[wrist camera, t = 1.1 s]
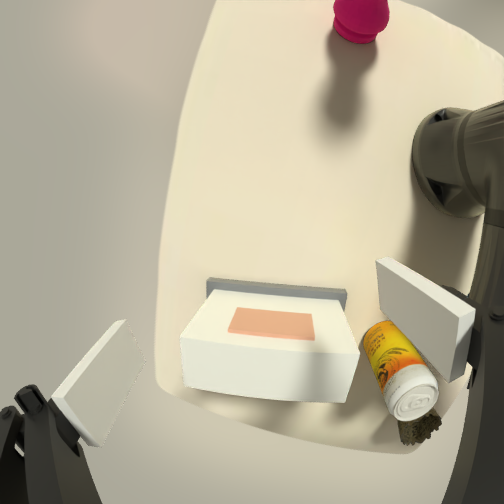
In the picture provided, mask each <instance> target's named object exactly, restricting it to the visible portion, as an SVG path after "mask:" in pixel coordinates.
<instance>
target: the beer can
mask: <svg viewBox="0 0 504 504" xmlns="http://www.w3.org/2000/svg"><path fill="white" fill-rule="evenodd" d="M363 345H364V349H365V352H366V354H367V356H368V359H369V361H370V364H371V366H372V369H373V371H374V374H375V376H376V379H377V381H378V384H379V387H380V389H381V392H382V394H383V397H384V400H385V402H386V405H387V408H388V411H389V412H390V414H392V415H393V416H395V418H396V419H398V420H400V421H411V420H414V419H417V418H419V417H421V416H423V415H424V414H425V413H427V412H428V411H429V410H430V409H431V408H432V407H433V406H434V404H435V403H436V401H437V399H438V395H439V392H438V382H437V380H436V379H435V377H434V375H433V374H432V372H431V371H430V369H429V368H428V366H427V365H426V363H425V362H424V360H423V359H422V357H421V356H420V354H419V353H418V352H417V350H416V349H415V347H414V346H413V344H412V343H411V341H410V340H409V339H408V338H407V337H406V336H405V335H404V334H403V333H402V331H401V330H400V329H399V328H398V327H397V326H396V325H395V324H394V323H393V322H392V321H383V322H380V323H377V324H376V325H374V326H373V327H372V328H370V329H369V331H368V332H367V333H366V335H365V338H364V342H363Z"/></svg>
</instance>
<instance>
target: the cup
mask: <svg viewBox="0 0 504 504" xmlns="http://www.w3.org/2000/svg"><path fill="white" fill-rule="evenodd" d="M441 424H442V423H441V417H440V416H439V415H438V414H437V412H436V411H435V410H434V408H433V407H432V408H431V409H430V410H429V411H428V412H427V413H425V414H424V415H423V416H421V417H419V418H417V419H414V420H411V421H400V420H398V428H399V433H400V439H401V442H403V444H404V445H405V444H406V445H407V446H408V445H409V444H410V442H411V444H412V445H414V444H415V442H417V443H422V442H423V441H424V440H425V439H426V438H427V439H430V437H431V432H433V430H434V429H435V430H436V431H437V430H438V429H439V428H438V426H440V425H441Z"/></svg>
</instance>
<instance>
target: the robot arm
mask: <svg viewBox="0 0 504 504" xmlns="http://www.w3.org/2000/svg"><path fill="white" fill-rule="evenodd" d="M412 153H413V165H414V170H415V174H416V177H417V180H418V182H419V185H420V187H421V189H422V191H423V192H424V194H425V196H426V197H427V198H428V200H429V201H430V202H431V203H432V204H433V205H434V206H435V207H436V208H437V209H439V210H440V211H442V212H443V213H445V214H448V215H451V216H455V217H460V218H471V217H475V216H478V215H480V214H483V213H485V215H484V223H483V229H482V236H481V243H480V248H479V254H478V259H477V264H476V269H475V273H474V277H473V282H472V286H471V290H470V293H469V294H468V296H466V295H464V294H463V293H462V294H461V292H459V291H458V290H456V289H454V288H451V287H447V286H438V285H437V284H435V283H433V282H432V281H430V280H428V279H427V278H425V277H423V276H422V275H420V274H418V273H417V272H415V271H413V270H411V269H410V268H408V267H406V266H404V265H403V264H401V263H399V262H397V261H396V260H394V259H392V258H390V257H389V256H388V257H385V258H382V259H378V260H376V269H377V279H378V289H379V302H380V310H381V311H382V312H383V313H384V314H385V315H386V316H387V317H388V318H389V319H390V320H391V321H392V322H393V323H394V324H395V325H396V326H397V327H398V328H399V329H400V330H401V331H402V333H403V334H404V335H405V336H406V337H407V338H408V339H409V340H410V341H411V342H412V343H413V344H414V345H415V346H416V348H417V349H418V350H419V351H420V352H421V353H422V354H423V355H424V356H425V357H426V358H427V360H428V361H429V362H430V363H431V364H432V365H433V366H434V367H435V369H436V370H437V371H438V372H439V373H440V374H441V375H442V376H443V378H444V379H445V380H446V381H447V382H448V383H450V382H452V381H453V380H455V379H457V378H459V377H460V376H462V375H464V372H465V368H466V364H467V362H468V363H469V364H470V365H471V366H472V367H473V368H472V372H471V376H470V379H469V383H468V386H467V389H469V397H468V405H467V412H466V417H465V423H464V428H463V433H462V438H461V442H460V446H459V450H458V454H457V458H456V462H455V465H454V469H453V472H452V475H451V479H450V482H449V485H448V487H447V490H446V493H445V496H444V499H443V501H442V504H504V100H503V101H500V102H498V103H495V104H492V105H489V106H487V107H484V108H481V109H478V110H476V111H471V110H466V109H459V108H443V109H440V110H437V111H435V112H433V113H431V114H429V115H428V116H427V117H426V118H424V119H423V121H422V122H421V123H420V125H419V126H418V128H417V131H416V133H415V137H414V141H413V151H412ZM145 362H146V361H145V359H144V357H143V355H142V353H141V351H140V349H139V347H138V344H137V342H136V340H135V338H134V336H133V333H132V331H131V329H130V327H129V324H128V322H127V320H121V321H115V322H114V323H113V325H112V326H111V327H110V328H109V329H108V330H107V331H106V332H105V333H104V335H103V336H102V337H101V338H100V339H99V340H98V341H97V343H96V344H95V345H94V346H93V347H92V348H91V349H90V350H89V352H88V353H87V354H86V355H85V356H84V357H83V359H82V360H81V361H80V362H79V363H78V364H77V366H76V367H75V368H74V369H73V370H72V372H71V373H70V374H69V375H68V376H67V378H66V379H65V380H64V381H63V382H62V384H61V385H60V386H59V387H58V389H57V390H56V391H55V392H54V394H53V395H52V396H51V399H50V400H49V401H48V402H47V401H46V400H45V398H44V397H43V395H42V394H41V392H40V391H39V389H38V388H37V386H36V385H28V386H25V387H23V388H22V389H21V390H19V391H18V392H17V393H16V395H15V397H14V399H15V400H16V402H17V403H18V405H19V406H20V407H21V409H22V410H23V411H24V413H25V414H22V415H21V414H20V413H19V411H18V410H17V409H16V407H14V406H9V407H5V408H3V409H2V411H1V412H0V504H102V502H101V500H100V497H99V495H98V492H97V490H96V487H95V484H94V482H93V479H92V476H91V474H90V471H89V468H88V465H87V462H86V458H85V455H84V452H83V448H82V446H81V445H80V444H79V442H78V439H79V438H80V436H81V438H82V439H83V440H84V441H85V442H86V443H87V445H88V446H94V447H102V446H103V444H104V441H105V439H106V437H107V435H108V433H109V431H110V429H111V427H112V425H113V423H114V421H115V419H116V417H117V415H118V413H119V412H120V410H121V408H122V406H123V404H124V402H125V400H126V398H127V396H128V394H129V392H130V390H131V388H132V386H133V385H134V383H135V381H136V379H137V377H138V375H139V373H140V372H141V370H142V368H143V366H144V364H145ZM15 443H16V444H17V446H18V447H19V448H20V449H21V450H22V451H23V452H24V456H21V455H20V454H19V453H18V452H17V450H16V449H15Z"/></svg>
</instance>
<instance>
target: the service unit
mask: <svg viewBox="0 0 504 504" xmlns="http://www.w3.org/2000/svg"><path fill="white" fill-rule="evenodd" d="M346 299H347V292H346V290H345V289H334V288H320V287H307V286H295V285H283V284H271V283H260V282H250V281H239V280H229V279H220V278H209V279H208V280H207V299H206V301H205V302H204V304H203V305H202V306H201V308H200V309H199V310H198V312H197V313H196V315H195V316H194V317H193V319H192V320H191V321H190V323H189V324H188V326H187V327H186V328H185V330H184V331H183V332H182V334H181V335H180V349H181V361H182V372H183V382H184V386H186V387H191V388H196V389H201V390H207V391H212V392H218V393H224V394H231V395H238V396H245V397H254V398H263V399H273V400H285V401H300V402H329V403H345V401H346V398H347V395H348V392H349V389H350V386H351V383H352V380H353V377H354V373H355V370H356V367H357V363H358V360H359V356H360V352H359V349H358V347H357V344H356V342H355V339H354V337H353V334H352V332H351V329H350V327H349V324H348V322H347V319H346V317H345V314H344V309H345V304H346Z"/></svg>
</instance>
